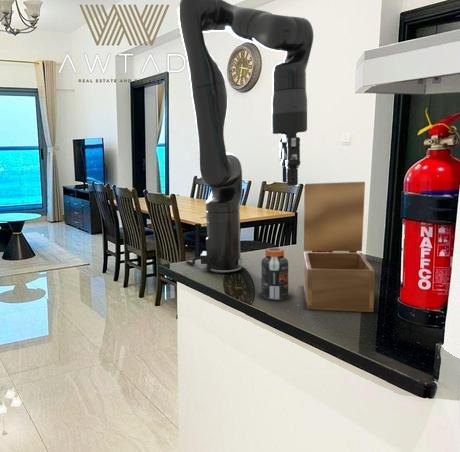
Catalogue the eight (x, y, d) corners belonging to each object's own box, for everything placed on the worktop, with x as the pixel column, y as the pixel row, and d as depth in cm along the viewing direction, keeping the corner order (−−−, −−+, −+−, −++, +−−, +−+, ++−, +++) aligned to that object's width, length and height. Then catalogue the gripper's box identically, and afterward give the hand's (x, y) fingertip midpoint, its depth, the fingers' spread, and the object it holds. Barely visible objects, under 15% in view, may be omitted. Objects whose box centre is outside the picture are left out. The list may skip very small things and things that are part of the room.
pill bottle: (283, 301, 103) (282, 253, 101) (257, 298, 107) (257, 250, 105) (291, 294, 108) (291, 247, 106) (267, 290, 111) (266, 245, 110)
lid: (365, 182, 102) (360, 176, 107) (304, 184, 106) (303, 179, 111) (361, 251, 107) (357, 242, 112) (303, 250, 111) (302, 242, 116)
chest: (373, 312, 94) (374, 270, 92) (307, 309, 98) (307, 269, 96) (360, 288, 108) (361, 252, 107) (303, 287, 112) (303, 252, 111)
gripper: (312, 107, 95) (312, 185, 98) (301, 112, 109) (301, 180, 111) (274, 110, 97) (275, 187, 99) (268, 114, 110) (269, 181, 113)
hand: (289, 183), depth 105 cm, fingers open, 8 cm apart
